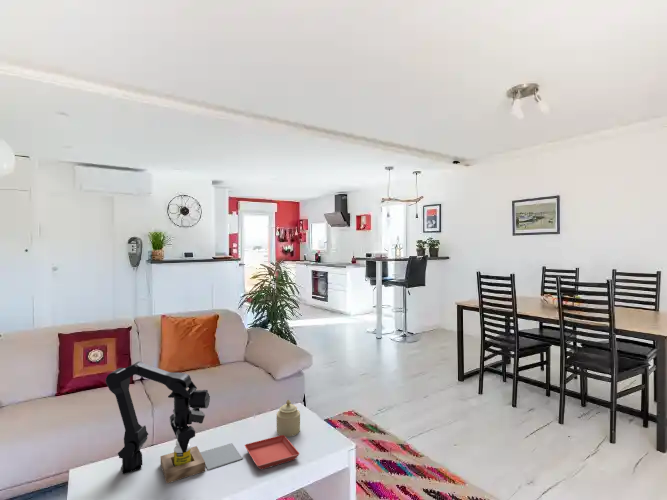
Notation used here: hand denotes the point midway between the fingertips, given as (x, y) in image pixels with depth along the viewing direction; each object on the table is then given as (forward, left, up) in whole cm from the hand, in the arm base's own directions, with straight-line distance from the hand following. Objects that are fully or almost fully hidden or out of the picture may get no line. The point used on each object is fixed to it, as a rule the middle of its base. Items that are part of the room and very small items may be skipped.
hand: (182, 446), depth 150 cm
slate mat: (+15, 0, -8) cm, 17 cm away
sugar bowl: (+48, +6, -9) cm, 49 cm away
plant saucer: (+33, -11, -9) cm, 36 cm away
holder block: (0, 0, -8) cm, 8 cm away
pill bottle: (0, 0, -9) cm, 9 cm away
